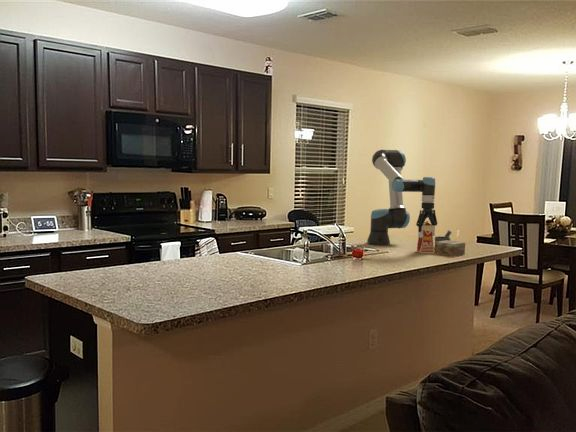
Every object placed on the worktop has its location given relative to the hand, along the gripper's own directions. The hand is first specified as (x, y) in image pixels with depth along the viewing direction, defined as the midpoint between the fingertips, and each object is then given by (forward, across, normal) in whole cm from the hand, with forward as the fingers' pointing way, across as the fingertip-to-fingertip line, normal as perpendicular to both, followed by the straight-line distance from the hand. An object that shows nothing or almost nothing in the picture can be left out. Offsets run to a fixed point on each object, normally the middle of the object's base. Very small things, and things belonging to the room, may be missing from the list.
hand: (426, 236), depth 326 cm
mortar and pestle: (+10, +26, +3) cm, 28 cm away
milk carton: (+10, 0, 0) cm, 10 cm away
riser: (+10, +8, -12) cm, 17 cm away
